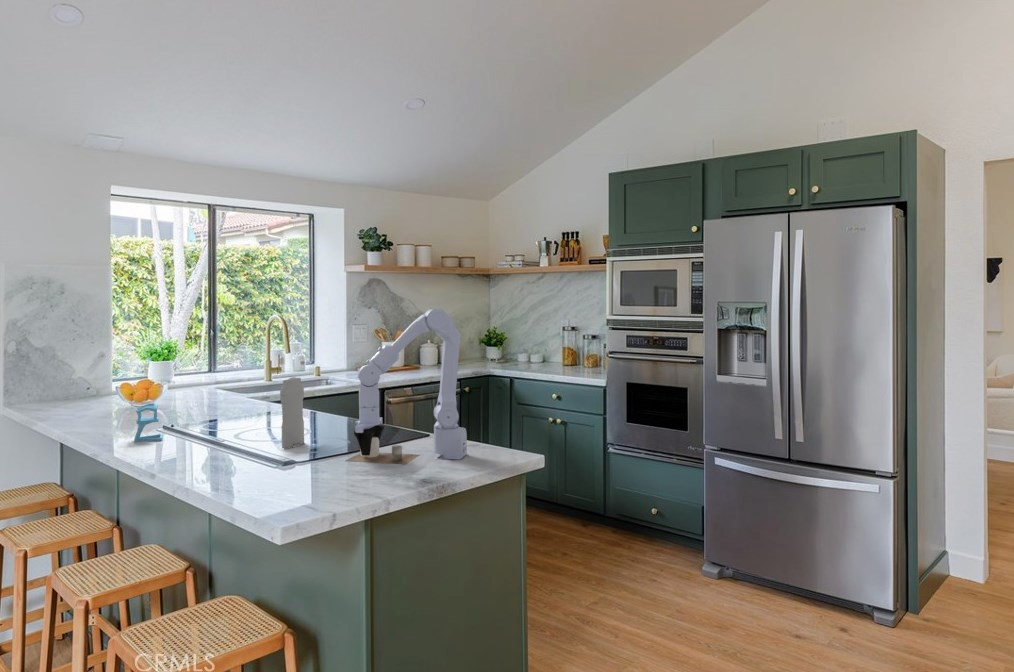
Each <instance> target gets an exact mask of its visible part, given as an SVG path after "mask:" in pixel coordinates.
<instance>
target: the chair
mask: <svg viewBox="0 0 1014 672" xmlns="http://www.w3.org/2000/svg"><path fill="white" fill-rule="evenodd" d="M158 407H159V406H158V403H148V404H144V405H143V406H141V407H137V408H136V409H137V410H135V412H136V415H137V419H136V421H135V422H136V425H138V427H137V431H136V434H135V435H134V440H133V442H135V443H137V442H161V441H163V433H157V434H151V435H144V436H143V435H142V432H143V430H144V428H145V426H147V425H149V424H153V423H159V419H160V417H159V415H158ZM145 411H150V412H153V416H151V417H142V416H143V415H142V412H145ZM141 435H142V436H141Z"/></svg>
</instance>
